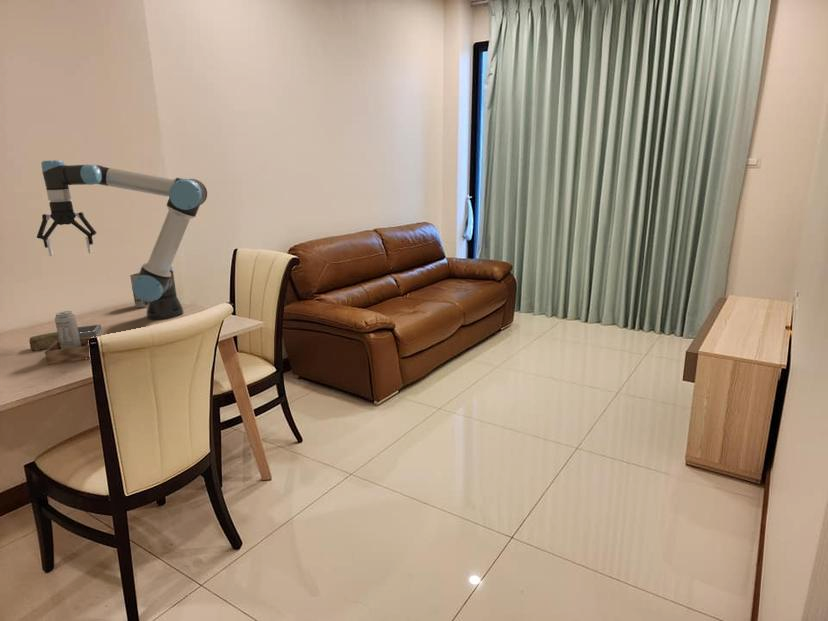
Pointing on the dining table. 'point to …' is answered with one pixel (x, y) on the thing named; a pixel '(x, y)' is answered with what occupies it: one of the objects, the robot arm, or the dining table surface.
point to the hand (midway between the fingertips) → (71, 254)
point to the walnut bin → (67, 352)
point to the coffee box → (137, 301)
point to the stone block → (43, 341)
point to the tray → (89, 328)
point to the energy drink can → (67, 330)
